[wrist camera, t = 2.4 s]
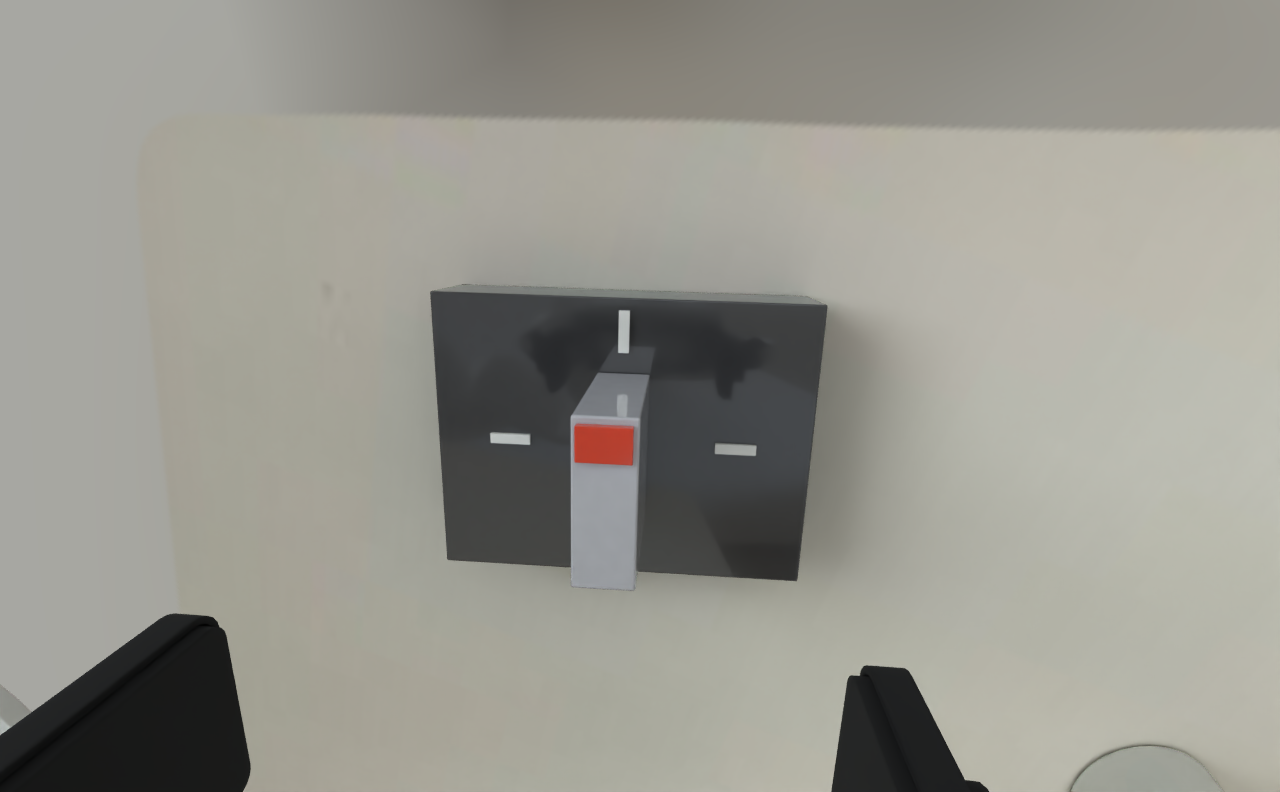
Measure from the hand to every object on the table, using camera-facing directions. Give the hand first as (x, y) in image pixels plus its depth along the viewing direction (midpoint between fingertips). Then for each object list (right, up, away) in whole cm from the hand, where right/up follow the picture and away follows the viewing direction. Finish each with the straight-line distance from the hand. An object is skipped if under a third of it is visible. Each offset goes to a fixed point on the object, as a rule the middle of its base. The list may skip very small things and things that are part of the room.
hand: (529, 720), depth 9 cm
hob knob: (+1, +3, +12) cm, 12 cm away
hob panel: (+1, +4, +15) cm, 15 cm away
